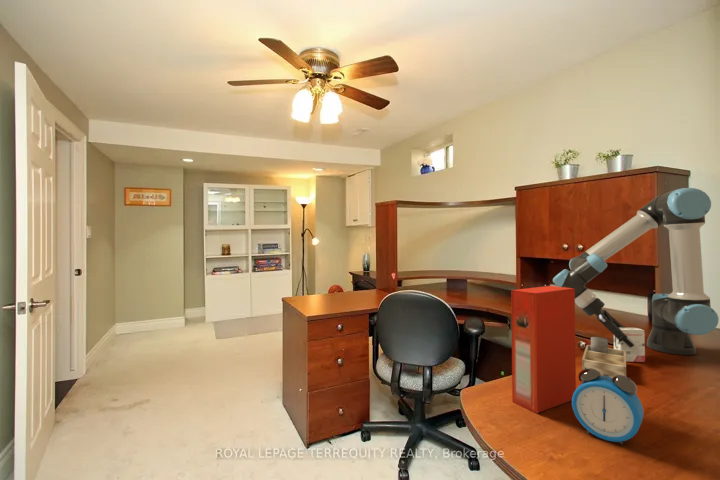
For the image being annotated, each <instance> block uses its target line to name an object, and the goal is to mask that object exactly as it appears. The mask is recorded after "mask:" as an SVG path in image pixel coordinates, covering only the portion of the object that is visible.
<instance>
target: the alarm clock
mask: <svg viewBox="0 0 720 480" xmlns="http://www.w3.org/2000/svg"><path fill="white" fill-rule="evenodd" d="M607 376H608V377H607ZM578 380H579V382H581V383H580V385H578V386H577V387H576V390H575V392H574V394H573V397H572V400H571V408H572V410H573V413H574V416H575V417H576V419H577V420H578V422H579V423H580V424H581V425H582V427H583V428H584V429H586V434H589V433H590V434H592V435H594V436H595V437H596V438H599V439H602V440H603V441H608V442H614V443H619V444H620V445H621V446H623V447H624V444H623V442H626V441H628V440H630V439H633V438H634V436H635V435H636V434H637V433H638V431H639V429H640V427H641V425H642V423H643V420H644V408H643V404H642V401H641V400H640V398H639V396H638V395H637V393H638V386H637V384H636V382H634V380H633V379H632V378H630V377H628V376H627V375H626V376H624V375H615V376H614V377H613V378H611V377H609V375H606V374H604V376H601V374H600V372H599V371H598V370H596V369H593V368H587V369H586V368H585V369H584V370H582V369H581V371H580V372H579V374H578Z"/></svg>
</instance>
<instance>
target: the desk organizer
mask: <svg viewBox="0 0 720 480" xmlns="http://www.w3.org/2000/svg"><path fill="white" fill-rule="evenodd" d="M585 368H586V369H587V368H593V369H596V370H598V371H599V372H600V374H601V376H604V374H606V375H609V377H611V378H613V377H614V376H615V375H624V376H626V377H627V361H626V351H624V350H618V349H614V348H612V347H611V348H610V347H609V340H608V338H604V337H601V336H591V337H590V344H586V346H585V349H584V352H583V355H582V358H581V371H582V370H584V369H585ZM607 377H608V376H607Z"/></svg>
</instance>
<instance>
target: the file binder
mask: <svg viewBox="0 0 720 480" xmlns="http://www.w3.org/2000/svg"><path fill="white" fill-rule="evenodd" d="M510 293H511V294H510V295H511V296H510V297H511V301H510V302H511V303H510V305H511V309H510V311H511V377H512V380H511V381H512V383H511V385H512V386H511V390H512V392H511V393H512V398H511V399H512V403H514V404H516V405H518V406H520V407H521V408H524V409H526V410H528V411H530V412H533V413H535V414H539V413H541V412H544V411H547V410H549V409H553V408H554V407H557V406H559V405H563V404H565V403H568V402H570V401H571V402H572V397H573V394H574V392H575V390H576V389H577V385H576V384H577V380H576V379H577V377H576V376H577V375H576V373H577V372H576V370H577V369H576V362H577V361H576V360H577V359H576V305H575V289H574V288H565V287H558V286H557V285H556V286H555V285H546V286H538V287H529V288H528V287H527V288H521V289H520V288H519V289H511V290H510Z"/></svg>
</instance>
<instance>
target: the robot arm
mask: <svg viewBox="0 0 720 480" xmlns="http://www.w3.org/2000/svg"><path fill="white" fill-rule="evenodd" d="M711 208H712V201H711V198H710V197H709V195H708V194H707V193H706V192H704V191H703V190H702V189H700V188H695V187H682V188H677V189H674V190H670V191H666V192H663V193H661V194H659V195H657V196H656V197H654V198H653V199H651V200H650V201H649V202H648V203H647V204H645V205H644V206H642V207H641V208H639V210H637V211H636V215H634V216H633V217H632V218H630V219H629V220H628V221H626V222H625V223H623V224H622V225H621V226H619V227H618V228H616V229H615V230H614V231H612V232H610V233H609V234H608V235H606V236H605V237H604V238H602V239H601V240H599V241H598V242H596V243H595V244H594V245H593V246H591V247H590V248H588V249H587V250H585V251H584V252H583V253H581V254H580V255H578V256H575V257H573V258H571V259H570V260H569V263H568V266H569V269H570V270H569V269H568V268H567V269H566V268H565V269H562V271H560V272H559V273H557V274H556V275H555V276H554V277H553V278H552V283H554V285H556V286H557V287H565V288H574V289H575V306H576V305H577V307H579V308H582V312H584V313H585V314H586V315H587V316H589V317H591V316H593V315H595V316H596V319H597V320H598V322H600V323H601V324H602V325H603V326H604V327H605V328H606V329H607V330H608V331H610V333H611V334H612V335H613V336H614V335H615V336H616V337H617V338H618V341H619V342H621V341H622V342H623V343H624V344H625V345H626V346H627V347H628V348H630V349H631V350H632V351H633V352H634V353H635V354H636V355H637V356H638V355H640V354H641V353H643V352H644V351H643V350H642V349H641V348H640V347H639V346H638V345H637V344H636V343H635V342H634V341H633V340H631V339H630V338H629V337H627V336H626V335H625V334H624V333H623V332H622V331H621V330H620V329H619V328H618V327H624V328H626V326H625V325H622V324H621V323H620V322H619V321H618V320H617V319H616V318H614V317H613V316H612V315H611V314H610V313H609V312H608V311H607V310H606V309H603V307H604V306H605V304H606V303H604V302H603V301H602V300H601V299H600V298H599V297H597V296H596V294H595V293H594V292H592V290H590V289H589V288H588V287H586V286H585V285H587V284H588V283H590V281H592V280H593V279H594V278H595V277H597V276H598V275H600V274H601V273H603V271H605V269H607V267H608V263H607V262H606V260H608V259H609V258H610V257H612V256H614V255H615V254H616V253H618V252H619V251H621V250H622V249H624V248H625V247H627V246H628V245H629V244H631V243H633V242H634V241H636V239H638V238H640V237H641V236H643V235H644V234H646V233H647V232H648V231H650V230H652V229H658V228H659V227H660V226H662V225H663V227H664V228H666V229H667V230H668V234H669V235H668V236H669V251H670V266H671V269H670V270H671V285H672V292H671V293H653V295H652V299H651V317H652V318H651V322H652V325H651V326H652V329H651V330H650V333H649V335H648V337H647V339H646V346H647V347H648V348H650V349H652V350H655V351H657V352H661V353H666V354H671V355H679V356H682V355H683V356H693V355H696V353H697V349H696V345H695V343H694V340H693V338H692V336H691V335H694V336H702V335H703V336H704V335H708V334H709V333H711V332H712V331H714V330H715V329H716V328H717V326H718V325H719V319H720V317H719V315H718V313H717V312H716V311H715V309H713V308H712V306H711V297H710V296H708V295H707V294H706V293H705V291H704V290H705V289H704V274H703V258H702V257H703V256H702V246H701V245H702V243H701V231H700V229H701V228H702V227H703V226H704V225H705V224H706V215H707V214H708V213H709V212H710V210H711Z"/></svg>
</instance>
